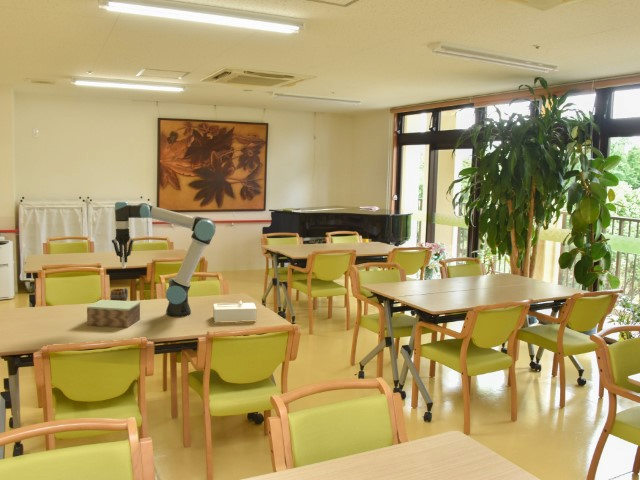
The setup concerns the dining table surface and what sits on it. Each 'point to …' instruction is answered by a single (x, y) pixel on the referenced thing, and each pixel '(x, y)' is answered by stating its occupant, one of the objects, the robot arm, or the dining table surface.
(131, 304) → the lid
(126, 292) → the mug
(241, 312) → the tissue box
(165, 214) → the robot arm
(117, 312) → the box
